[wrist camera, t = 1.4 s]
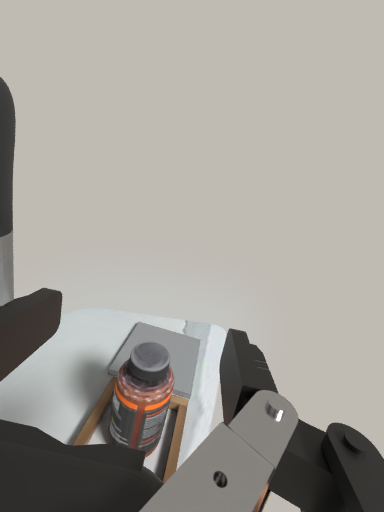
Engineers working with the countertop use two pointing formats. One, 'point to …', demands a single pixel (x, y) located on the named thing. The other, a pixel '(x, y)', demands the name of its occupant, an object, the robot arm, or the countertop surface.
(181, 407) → the walnut frame
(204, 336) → the countertop surface
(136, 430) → the supplement bottle
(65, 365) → the countertop surface
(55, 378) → the countertop surface
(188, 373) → the plate
